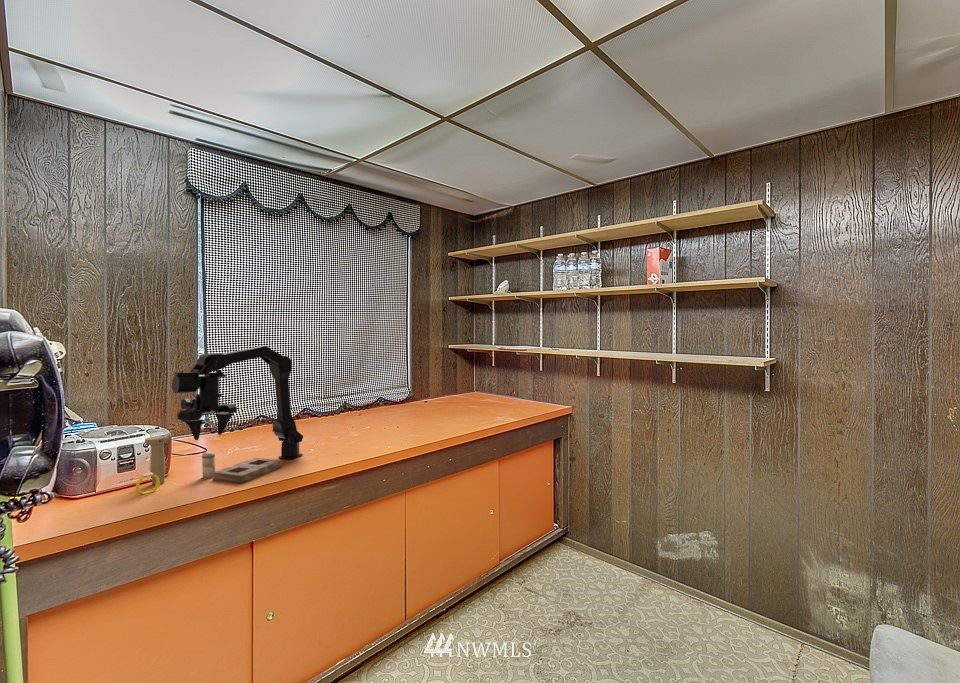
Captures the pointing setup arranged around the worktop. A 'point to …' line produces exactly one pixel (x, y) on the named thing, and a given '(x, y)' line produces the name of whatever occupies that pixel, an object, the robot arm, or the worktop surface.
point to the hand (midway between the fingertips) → (208, 437)
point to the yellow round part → (146, 477)
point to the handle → (157, 456)
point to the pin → (208, 464)
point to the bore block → (247, 470)
